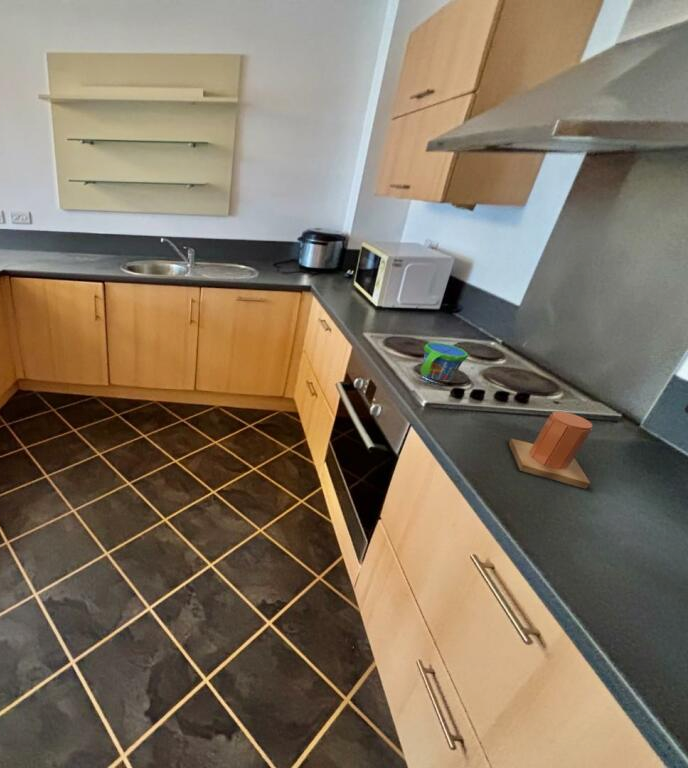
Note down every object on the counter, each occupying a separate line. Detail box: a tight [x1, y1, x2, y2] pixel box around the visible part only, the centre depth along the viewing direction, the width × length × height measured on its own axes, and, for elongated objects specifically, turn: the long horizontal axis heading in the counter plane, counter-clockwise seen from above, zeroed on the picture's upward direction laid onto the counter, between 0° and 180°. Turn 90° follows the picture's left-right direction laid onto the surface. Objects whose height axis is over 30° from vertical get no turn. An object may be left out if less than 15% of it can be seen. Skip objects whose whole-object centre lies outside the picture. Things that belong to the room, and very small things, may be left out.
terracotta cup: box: [529, 410, 593, 469], centre depth 85 cm, size 6×6×10 cm
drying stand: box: [508, 438, 591, 490], centre depth 85 cm, size 11×11×10 cm
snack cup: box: [420, 342, 469, 387], centre depth 120 cm, size 16×10×10 cm
